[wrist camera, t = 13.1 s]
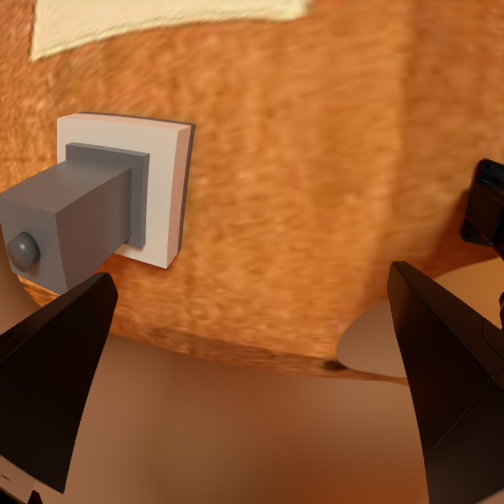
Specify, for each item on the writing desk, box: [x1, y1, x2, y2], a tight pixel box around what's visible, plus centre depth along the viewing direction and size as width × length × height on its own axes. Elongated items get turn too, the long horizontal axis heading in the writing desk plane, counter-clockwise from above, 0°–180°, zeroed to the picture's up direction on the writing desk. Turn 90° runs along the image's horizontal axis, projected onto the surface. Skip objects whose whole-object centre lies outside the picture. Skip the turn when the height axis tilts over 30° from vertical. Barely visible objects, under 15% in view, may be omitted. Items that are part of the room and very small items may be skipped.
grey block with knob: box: [0, 142, 150, 295], centre depth 17 cm, size 7×7×11 cm
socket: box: [57, 112, 195, 269], centre depth 21 cm, size 10×10×3 cm
